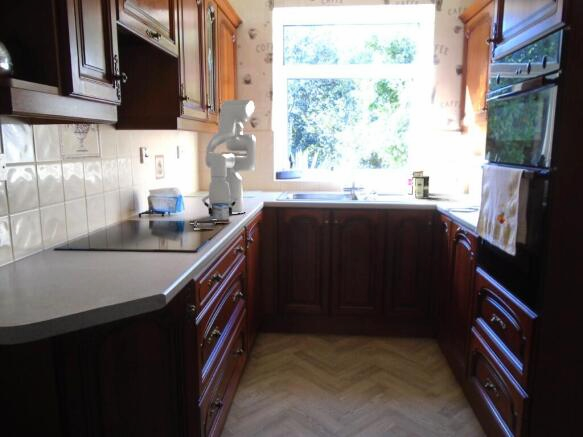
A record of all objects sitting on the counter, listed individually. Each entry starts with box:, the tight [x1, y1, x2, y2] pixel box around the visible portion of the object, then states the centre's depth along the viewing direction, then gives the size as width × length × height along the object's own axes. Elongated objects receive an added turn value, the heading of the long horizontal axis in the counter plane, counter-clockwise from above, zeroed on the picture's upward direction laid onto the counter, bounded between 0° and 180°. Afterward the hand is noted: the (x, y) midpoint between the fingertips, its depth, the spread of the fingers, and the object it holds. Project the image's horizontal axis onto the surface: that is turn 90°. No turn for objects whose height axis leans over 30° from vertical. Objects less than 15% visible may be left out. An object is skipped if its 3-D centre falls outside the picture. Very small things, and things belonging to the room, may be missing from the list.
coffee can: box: [412, 175, 430, 199], centre depth 296 cm, size 10×10×14 cm
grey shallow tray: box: [192, 219, 216, 229], centre depth 201 cm, size 13×9×2 cm
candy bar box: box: [406, 169, 424, 195], centre depth 317 cm, size 11×5×16 cm, turn 126°
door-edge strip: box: [189, 218, 230, 224], centre depth 209 cm, size 1×18×2 cm, turn 98°
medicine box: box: [211, 204, 230, 220], centre depth 216 cm, size 8×4×9 cm, turn 52°
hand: (220, 215), depth 216 cm, fingers closed on medicine box, 8 cm apart
